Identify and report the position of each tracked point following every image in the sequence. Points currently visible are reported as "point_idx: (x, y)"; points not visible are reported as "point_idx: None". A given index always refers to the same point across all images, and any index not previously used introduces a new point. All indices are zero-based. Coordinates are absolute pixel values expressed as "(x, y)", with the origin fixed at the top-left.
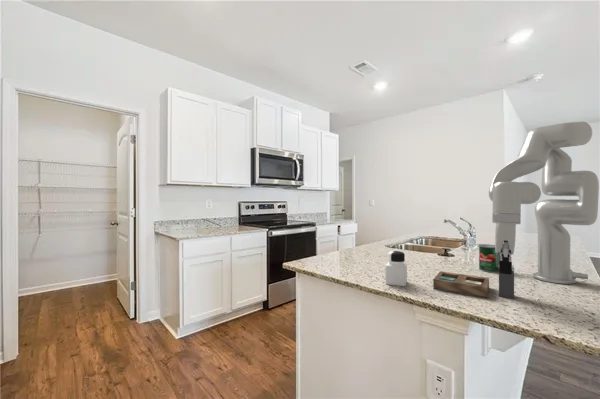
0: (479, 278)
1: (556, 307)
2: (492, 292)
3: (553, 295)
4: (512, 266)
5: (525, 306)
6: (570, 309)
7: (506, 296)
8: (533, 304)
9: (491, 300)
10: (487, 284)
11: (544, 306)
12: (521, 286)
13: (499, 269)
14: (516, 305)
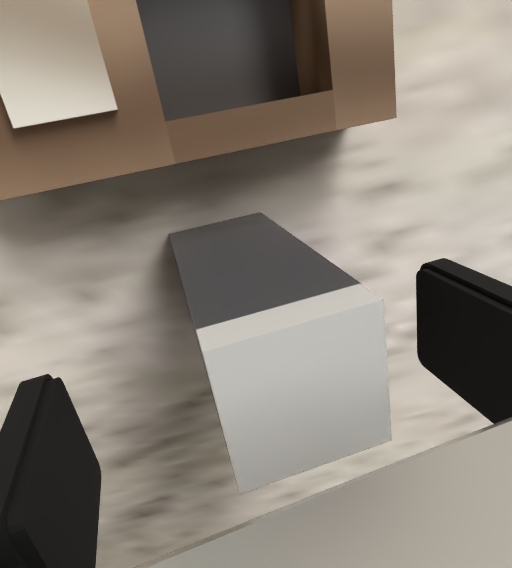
0: (326, 36)
1: (211, 484)
2: (238, 172)
3: (420, 420)
4: (322, 451)
5: (83, 400)
6: (229, 520)
7: (181, 281)
8: (168, 413)
9: (6, 223)
10: (130, 170)
11: (179, 452)
12: (508, 272)
13: (13, 410)
14: (53, 365)
